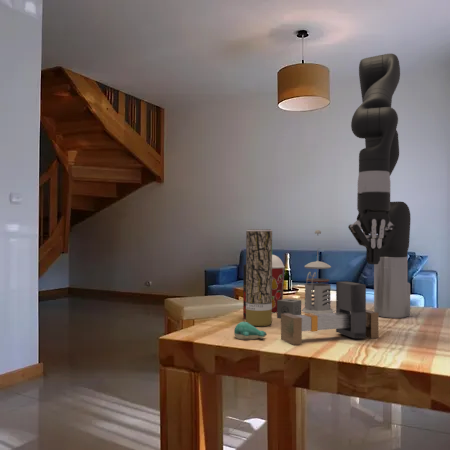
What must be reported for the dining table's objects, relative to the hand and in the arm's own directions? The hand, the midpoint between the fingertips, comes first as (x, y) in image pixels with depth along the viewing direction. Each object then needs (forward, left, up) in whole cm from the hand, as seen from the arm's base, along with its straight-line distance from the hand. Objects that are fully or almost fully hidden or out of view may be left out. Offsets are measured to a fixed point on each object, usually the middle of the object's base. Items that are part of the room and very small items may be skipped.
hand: (373, 264), depth 113 cm
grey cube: (+9, -26, -17) cm, 32 cm away
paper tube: (+21, -20, -17) cm, 33 cm away
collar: (+6, 0, -17) cm, 18 cm away
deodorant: (+19, -28, -17) cm, 38 cm away
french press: (-4, -33, -17) cm, 37 cm away
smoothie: (+9, -38, -17) cm, 42 cm away
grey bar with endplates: (+12, 0, -17) cm, 21 cm away
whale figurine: (+29, -6, -17) cm, 34 cm away
